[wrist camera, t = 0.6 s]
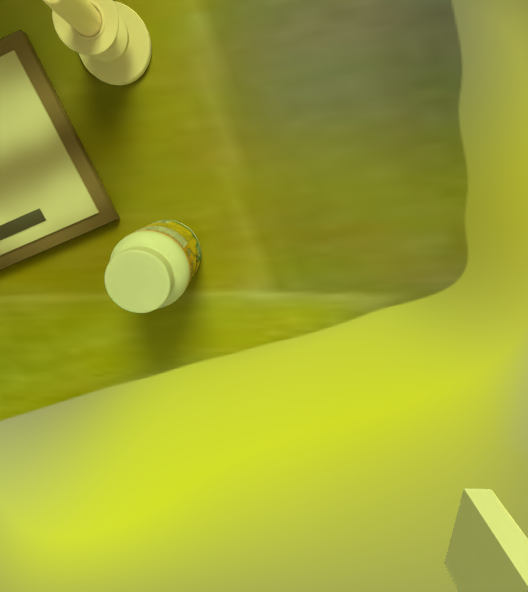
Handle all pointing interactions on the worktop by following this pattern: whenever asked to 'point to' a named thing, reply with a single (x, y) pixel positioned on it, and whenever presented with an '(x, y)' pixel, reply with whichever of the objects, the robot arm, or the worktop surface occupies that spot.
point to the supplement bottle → (152, 266)
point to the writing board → (41, 162)
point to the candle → (104, 37)
